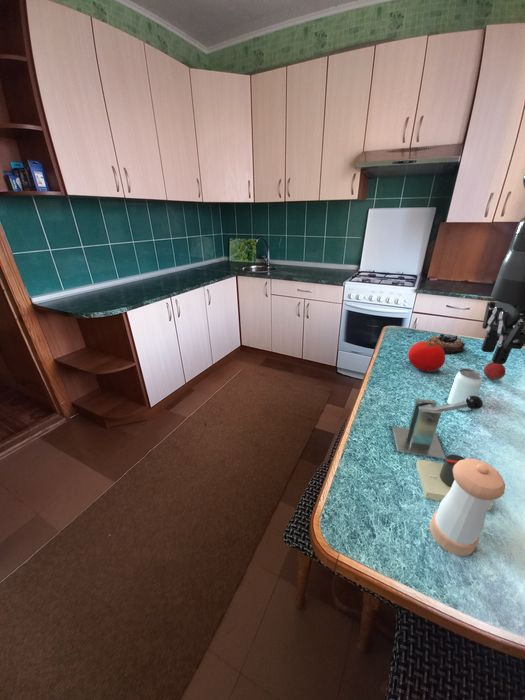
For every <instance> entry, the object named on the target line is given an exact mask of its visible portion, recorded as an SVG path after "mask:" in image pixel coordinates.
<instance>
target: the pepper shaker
mask: <svg viewBox="0 0 525 700" xmlns="http://www.w3.org/2000/svg"><path fill="white" fill-rule="evenodd" d="M453 475H454V479H455V480H454V482H453V484H452V487H451V489H450V491H449V492H448V493H447V495H446V496H445V497H444V499H443V500H442V501H441V502H440V503H439V506H438V509H437V510H436V511H435V512H434V513H433V515H432V517H431V520H430V523H429V532H430V535H431V536H432V538H433V539H434V541H435V542H436V543H437V544H438V545H439V546H440V547H441V548H442V549H444V550H445V551H447V552H449V553H450V554H453V555H456V556H459V557H466V556H470V555H472V554H473V552H474V551H475V549H476V547H477V545H478V544H479V539H480V537H479V536H480V534H481V533H482V531H483V529H484V525H485V520H486V515H487V512H488V511H487V510H488V508H489V506H490V504H491V502H492V503H493V501H494V500H498V499H500V498H501V497H502V496H503V495H505V492H506V490H505V489H506V483H505V481H504V478H503V476H502V475H501V473H500V472H499V471H498V470H497V469H496V468H495V467H493V466H491V464H488V463H487V462H485V461H483V460H480V459H477V458H465V459H464V460H460V461H458V462H457V463H456V464H455V465H454V467H453Z"/></svg>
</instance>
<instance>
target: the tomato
mask: <svg viewBox="0 0 525 700" xmlns="http://www.w3.org/2000/svg"><path fill="white" fill-rule="evenodd" d="M407 359H408V361H409V362H410V364H411V365H412V366H413V367H414V368H415V369H417V370H419V371H422V372H435V371H437V370H439V369H441V368H442V367H443V366H444V364H445V362H446V354H445V353H444V350H443V348H442V347H441V346H439V345H438V344H436V343H433V342H429V341H428V340H427V341H426V340H425V341H424V340H423V341H418V342H416V343H414V344H413V345H412V346H411V347H410V348H409V350H408V353H407Z"/></svg>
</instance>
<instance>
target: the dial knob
mask: <svg viewBox="0 0 525 700" xmlns="http://www.w3.org/2000/svg"><path fill="white" fill-rule="evenodd" d="M445 457H446V459H444V461H443V463H444V464H443V467H442V470H441V472H440V478H441V480H442V481H443V482H444V483H445V484H446V485H447V486H449V487H452V484H453V482H454V480H455V479H454V475H453V467H454V465H455V464H456V463H457V462H458V461H460V460H464V459H466V458H465V457H463V456H461V455H458V454H448V455H447V456H445Z"/></svg>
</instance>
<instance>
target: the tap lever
mask: <svg viewBox="0 0 525 700" xmlns="http://www.w3.org/2000/svg"><path fill="white" fill-rule="evenodd" d="M483 404H484V403H483V399H482V398H480V397H479V396H478V395H477V396H469V397H468V398H467V399H466V401H463V402H458V403H453V404H448V403H447V404H442V405H438V406H437V405H436V407H432V406H431V404H428V405H423V406H418V407H419V410H420V409H428V410H436V411H440V412H441V413H443V412H444V413H445V412H449V411H450V412H451V411H454V410H455V411H456V410H458V409H461V408H466V407H468V408H470V409H471V410H472V411H477V410H480V409H481V408H483Z"/></svg>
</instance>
